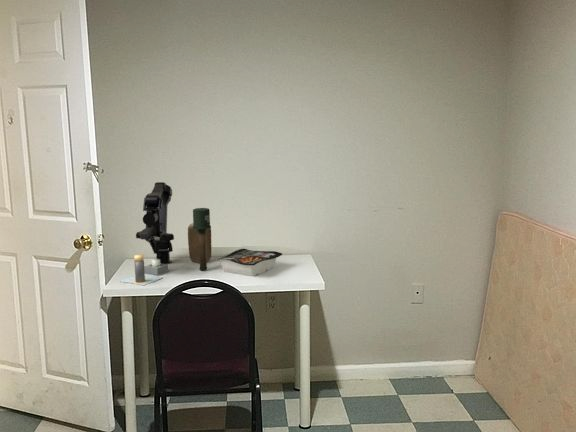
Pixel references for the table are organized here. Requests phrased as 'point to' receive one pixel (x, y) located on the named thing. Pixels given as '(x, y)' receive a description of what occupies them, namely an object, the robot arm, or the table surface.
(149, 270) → the button housing
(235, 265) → the food packaging
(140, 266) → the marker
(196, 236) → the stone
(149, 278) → the worksheet
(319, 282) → the table surface
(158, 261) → the button cap
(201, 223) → the potato masher grenade
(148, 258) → the table surface
